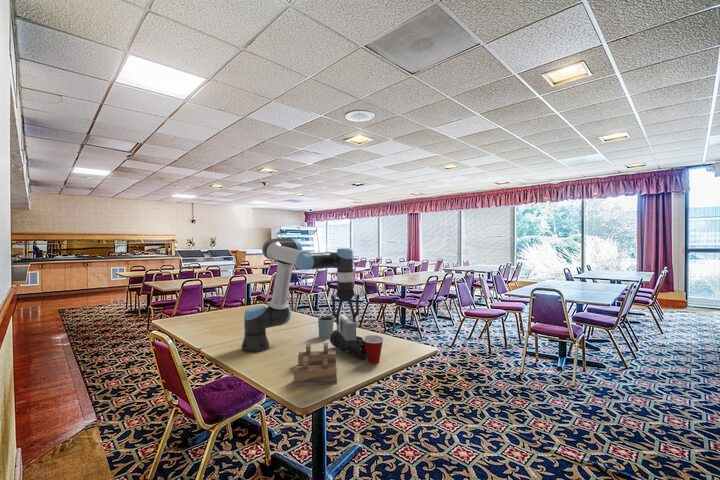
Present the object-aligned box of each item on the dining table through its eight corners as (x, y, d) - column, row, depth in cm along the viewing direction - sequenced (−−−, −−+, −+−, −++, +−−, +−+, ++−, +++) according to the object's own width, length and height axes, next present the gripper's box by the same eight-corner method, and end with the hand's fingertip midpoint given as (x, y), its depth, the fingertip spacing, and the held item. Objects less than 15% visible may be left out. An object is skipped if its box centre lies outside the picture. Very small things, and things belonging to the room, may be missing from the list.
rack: (336, 383, 148) (336, 359, 148) (294, 385, 147) (293, 361, 147) (335, 362, 174) (335, 342, 174) (299, 363, 172) (299, 343, 172)
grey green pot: (320, 334, 225) (320, 316, 225) (335, 335, 224) (335, 316, 224) (316, 339, 215) (316, 319, 215) (332, 339, 214) (332, 320, 214)
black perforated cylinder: (359, 361, 175) (359, 341, 175) (328, 348, 197) (327, 330, 197) (373, 357, 181) (373, 337, 181) (341, 345, 203) (341, 327, 203)
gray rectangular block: (346, 340, 151) (346, 323, 151) (336, 328, 173) (336, 313, 173) (356, 339, 152) (356, 323, 152) (345, 327, 174) (345, 313, 174)
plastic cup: (368, 367, 167) (368, 342, 167) (359, 360, 177) (359, 336, 177) (388, 363, 171) (388, 339, 171) (378, 357, 181) (378, 333, 181)
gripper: (325, 282, 158) (326, 333, 158) (365, 281, 160) (365, 332, 160) (325, 280, 166) (326, 329, 166) (363, 279, 167) (364, 328, 167)
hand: (345, 330), depth 163 cm, fingers closed on gray rectangular block, 5 cm apart
